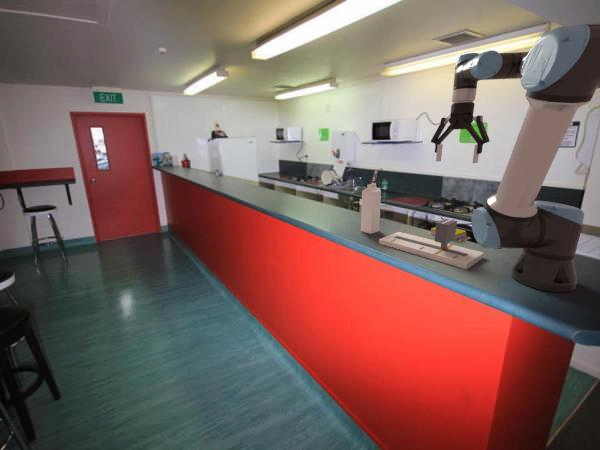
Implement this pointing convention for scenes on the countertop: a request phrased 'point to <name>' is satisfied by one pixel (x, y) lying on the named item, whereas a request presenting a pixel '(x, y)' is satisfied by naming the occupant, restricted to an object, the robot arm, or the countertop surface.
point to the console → (433, 249)
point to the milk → (370, 209)
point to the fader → (445, 232)
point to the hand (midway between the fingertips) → (455, 162)
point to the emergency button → (459, 234)
